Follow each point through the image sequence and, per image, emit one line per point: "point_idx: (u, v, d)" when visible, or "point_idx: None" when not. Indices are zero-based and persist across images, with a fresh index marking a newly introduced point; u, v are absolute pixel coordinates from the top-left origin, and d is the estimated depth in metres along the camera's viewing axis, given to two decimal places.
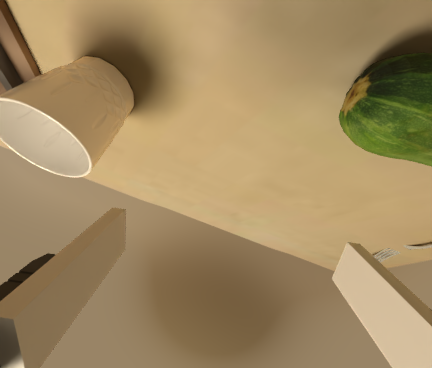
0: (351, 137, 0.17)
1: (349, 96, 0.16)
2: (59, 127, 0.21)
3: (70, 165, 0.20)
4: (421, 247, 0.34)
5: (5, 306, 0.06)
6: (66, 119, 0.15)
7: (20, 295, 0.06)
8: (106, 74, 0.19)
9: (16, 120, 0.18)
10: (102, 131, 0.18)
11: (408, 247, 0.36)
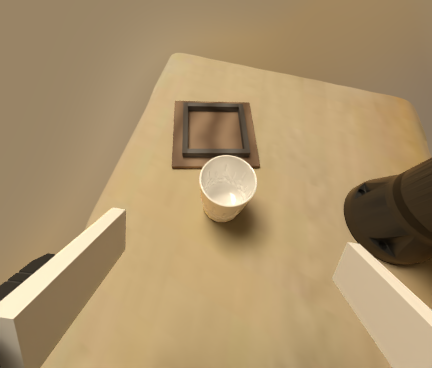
0: None
1: None
2: (210, 177, 0.32)
3: None
4: None
5: (5, 306, 0.06)
6: None
7: (20, 295, 0.06)
8: None
9: (225, 164, 0.31)
10: (232, 211, 0.28)
11: None
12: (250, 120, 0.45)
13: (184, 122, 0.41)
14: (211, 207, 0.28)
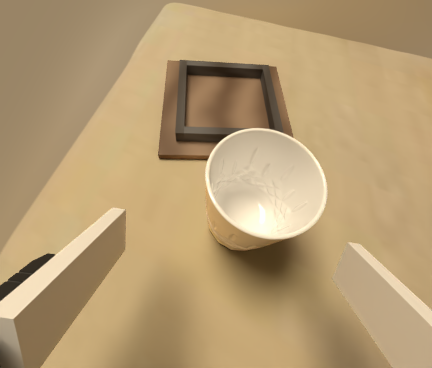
0: None
1: None
2: (223, 173, 0.18)
3: None
4: None
5: (5, 306, 0.06)
6: None
7: (20, 295, 0.06)
8: None
9: (254, 147, 0.16)
10: (271, 243, 0.14)
11: None
12: (279, 90, 0.30)
13: (180, 87, 0.26)
14: (228, 233, 0.14)
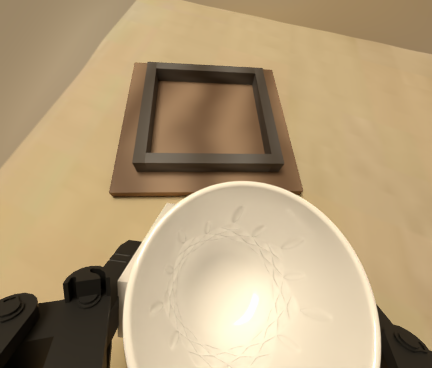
0: None
1: None
2: (190, 239, 0.11)
3: (144, 303, 0.07)
4: None
5: (129, 275, 0.07)
6: None
7: None
8: None
9: (237, 205, 0.10)
10: None
11: None
12: (276, 100, 0.24)
13: (145, 98, 0.20)
14: None
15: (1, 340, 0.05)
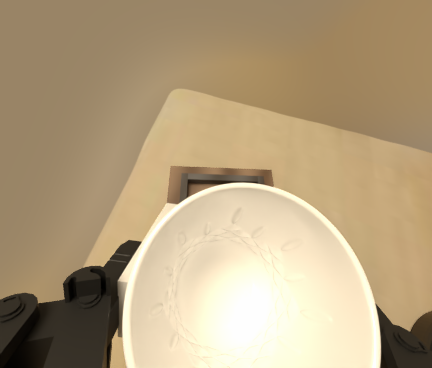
0: None
1: None
2: (189, 240, 0.11)
3: (144, 305, 0.07)
4: None
5: (129, 275, 0.07)
6: None
7: None
8: None
9: (237, 207, 0.10)
10: None
11: None
12: None
13: None
14: None
15: (1, 340, 0.05)
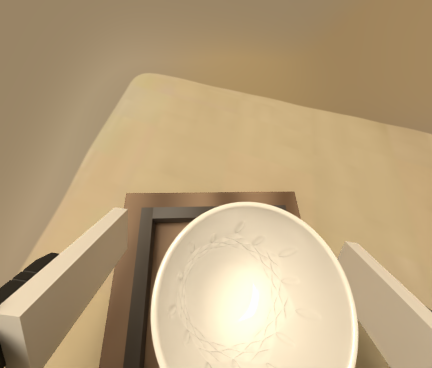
0: None
1: None
2: (197, 248, 0.13)
3: (164, 307, 0.08)
4: None
5: (11, 304, 0.06)
6: None
7: (26, 293, 0.06)
8: None
9: (240, 220, 0.11)
10: None
11: None
12: None
13: (137, 278, 0.15)
14: None
15: None
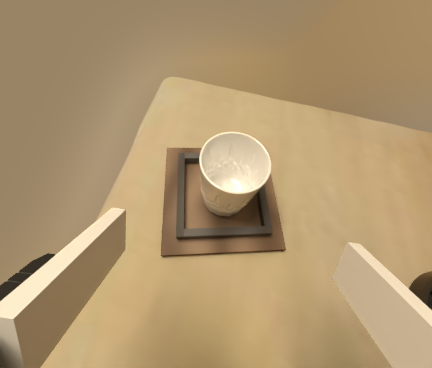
0: None
1: None
2: (211, 162, 0.27)
3: None
4: None
5: (5, 306, 0.06)
6: None
7: (20, 295, 0.06)
8: None
9: (230, 144, 0.25)
10: (240, 201, 0.23)
11: None
12: None
13: (179, 184, 0.29)
14: (214, 196, 0.23)
15: None
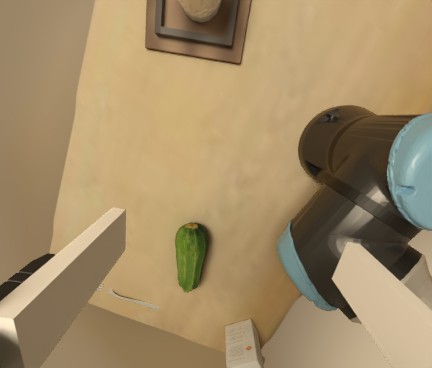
0: (179, 234, 0.43)
1: (190, 224, 0.44)
2: None
3: None
4: (115, 295, 0.54)
5: (5, 306, 0.06)
6: None
7: (20, 295, 0.06)
8: (216, 9, 0.32)
9: None
10: (196, 3, 0.27)
11: (110, 291, 0.55)
12: None
13: None
14: None
15: None
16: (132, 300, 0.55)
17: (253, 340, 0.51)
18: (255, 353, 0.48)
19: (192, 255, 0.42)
